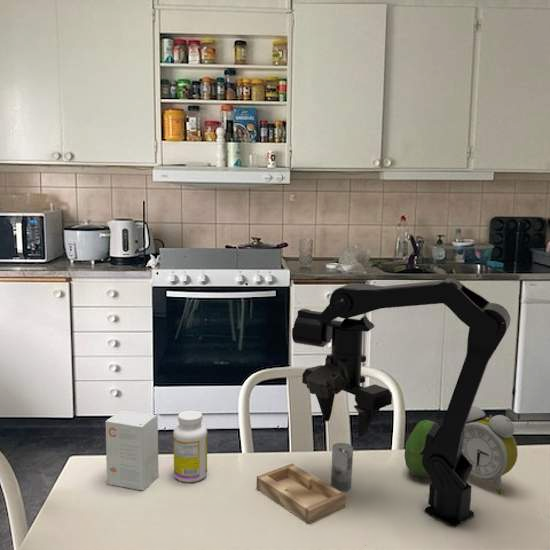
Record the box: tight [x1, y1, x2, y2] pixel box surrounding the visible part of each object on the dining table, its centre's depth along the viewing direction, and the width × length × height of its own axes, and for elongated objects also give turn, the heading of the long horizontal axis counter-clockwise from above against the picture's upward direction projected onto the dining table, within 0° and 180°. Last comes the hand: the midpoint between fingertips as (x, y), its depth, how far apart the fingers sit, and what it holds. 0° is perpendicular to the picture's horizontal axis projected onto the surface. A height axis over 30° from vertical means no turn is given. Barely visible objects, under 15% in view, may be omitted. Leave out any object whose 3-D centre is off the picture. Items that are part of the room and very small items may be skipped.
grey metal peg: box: [330, 442, 354, 492], centre depth 118 cm, size 4×4×8 cm
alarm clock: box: [462, 405, 519, 494], centre depth 121 cm, size 12×7×15 cm, turn 42°
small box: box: [104, 409, 160, 491], centre depth 118 cm, size 8×6×13 cm
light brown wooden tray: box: [256, 463, 347, 525], centre depth 114 cm, size 15×9×2 cm, turn 39°
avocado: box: [403, 419, 439, 479], centre depth 123 cm, size 8×8×12 cm
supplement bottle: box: [172, 410, 208, 483], centre depth 120 cm, size 7×7×13 cm
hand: (343, 428), depth 117 cm, fingers open, 9 cm apart
